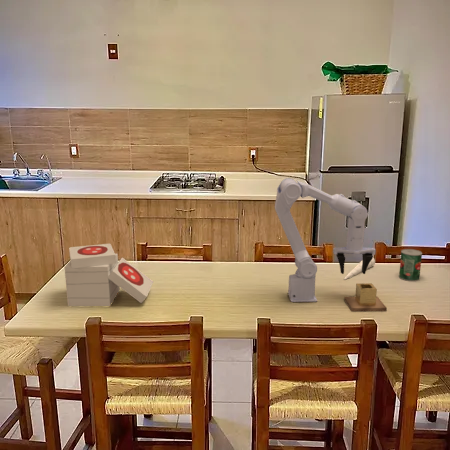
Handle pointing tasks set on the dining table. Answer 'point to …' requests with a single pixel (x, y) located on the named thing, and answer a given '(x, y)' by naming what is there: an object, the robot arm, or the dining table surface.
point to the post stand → (356, 307)
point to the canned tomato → (410, 265)
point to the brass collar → (366, 294)
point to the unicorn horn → (359, 269)
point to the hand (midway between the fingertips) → (352, 273)
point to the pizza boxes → (101, 277)
